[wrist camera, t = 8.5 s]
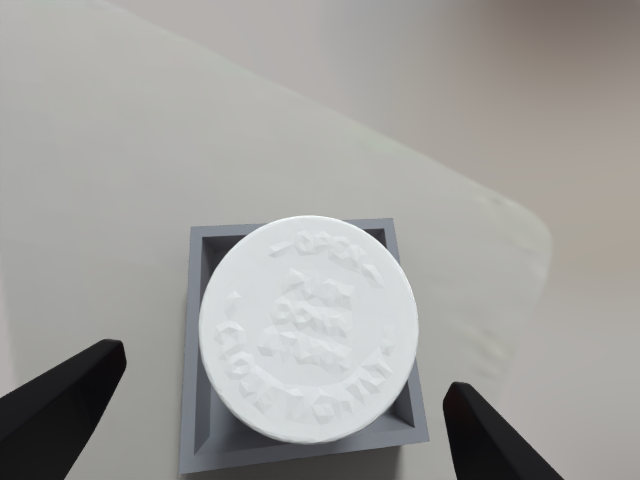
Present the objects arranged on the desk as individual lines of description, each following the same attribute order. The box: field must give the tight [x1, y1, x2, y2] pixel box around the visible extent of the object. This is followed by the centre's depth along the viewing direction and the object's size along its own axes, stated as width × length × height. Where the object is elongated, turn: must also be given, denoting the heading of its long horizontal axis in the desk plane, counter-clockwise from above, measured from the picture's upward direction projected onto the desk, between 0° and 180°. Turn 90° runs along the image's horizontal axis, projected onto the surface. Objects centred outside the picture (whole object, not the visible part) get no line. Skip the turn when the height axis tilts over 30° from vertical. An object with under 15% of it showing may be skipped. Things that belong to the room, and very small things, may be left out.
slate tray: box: [179, 218, 430, 474], centre depth 17 cm, size 11×11×4 cm
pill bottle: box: [198, 216, 419, 445], centre depth 12 cm, size 6×6×11 cm
